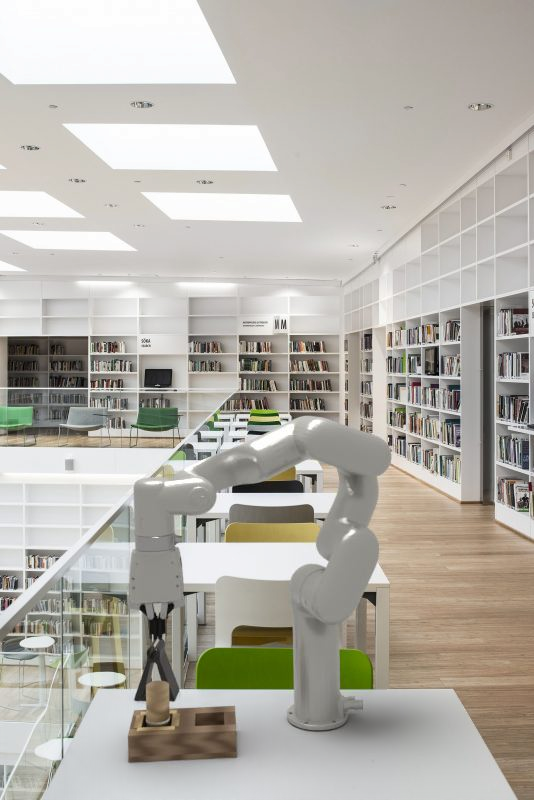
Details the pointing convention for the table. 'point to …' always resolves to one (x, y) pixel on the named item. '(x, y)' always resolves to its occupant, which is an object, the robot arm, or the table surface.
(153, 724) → the peg
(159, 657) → the phone stand
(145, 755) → the board
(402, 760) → the table surface
